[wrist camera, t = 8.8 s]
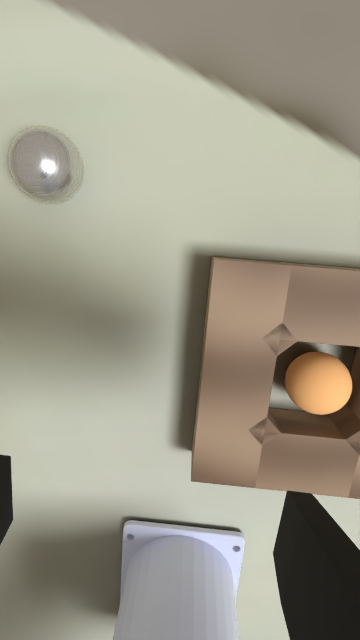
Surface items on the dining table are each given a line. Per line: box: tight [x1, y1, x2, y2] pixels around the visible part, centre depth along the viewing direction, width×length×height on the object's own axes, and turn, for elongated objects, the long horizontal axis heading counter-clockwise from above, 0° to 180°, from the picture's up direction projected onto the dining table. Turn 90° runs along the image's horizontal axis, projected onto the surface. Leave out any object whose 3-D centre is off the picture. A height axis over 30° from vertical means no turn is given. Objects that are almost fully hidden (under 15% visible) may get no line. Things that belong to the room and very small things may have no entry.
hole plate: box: [191, 256, 360, 499], centre depth 17 cm, size 12×12×2 cm
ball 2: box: [285, 352, 352, 415], centre depth 17 cm, size 3×3×3 cm
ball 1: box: [8, 126, 84, 204], centre depth 15 cm, size 3×3×3 cm
